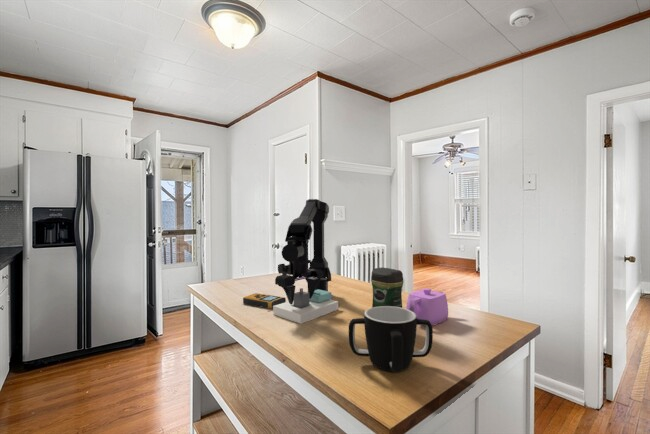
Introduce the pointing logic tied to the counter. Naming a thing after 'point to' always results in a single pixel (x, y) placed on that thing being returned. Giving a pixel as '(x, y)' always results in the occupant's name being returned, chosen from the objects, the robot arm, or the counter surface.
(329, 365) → the counter surface
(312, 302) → the socket plate
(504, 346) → the counter surface
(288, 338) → the counter surface
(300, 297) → the plug
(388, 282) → the coffee jar
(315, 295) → the block
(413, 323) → the mug
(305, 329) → the counter surface
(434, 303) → the teapot
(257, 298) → the electronic device
